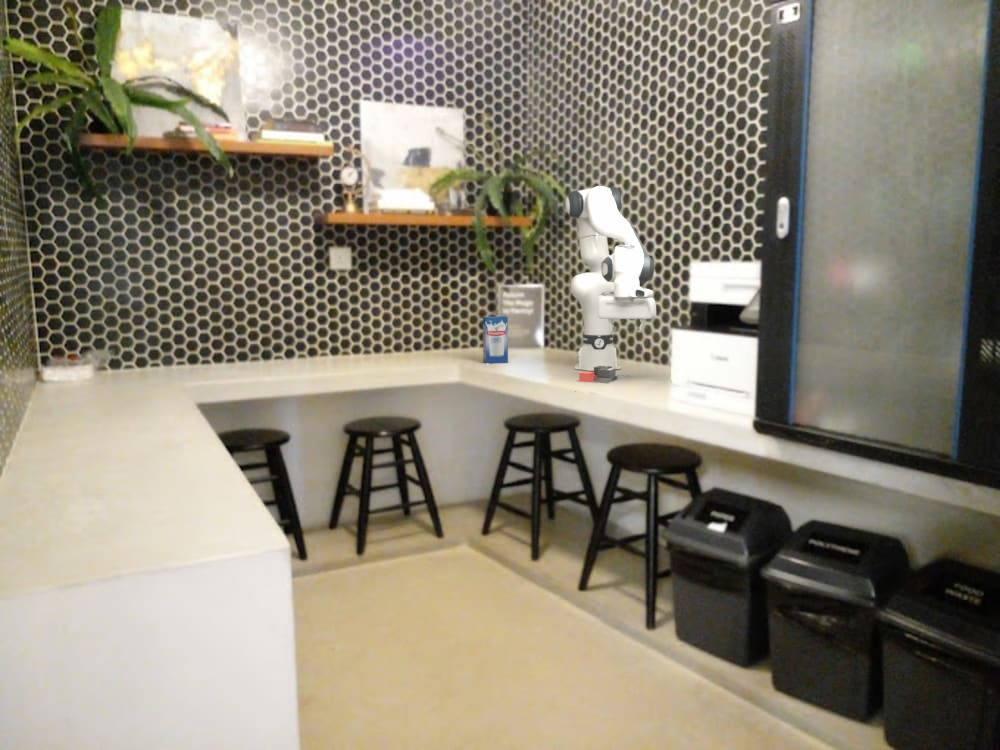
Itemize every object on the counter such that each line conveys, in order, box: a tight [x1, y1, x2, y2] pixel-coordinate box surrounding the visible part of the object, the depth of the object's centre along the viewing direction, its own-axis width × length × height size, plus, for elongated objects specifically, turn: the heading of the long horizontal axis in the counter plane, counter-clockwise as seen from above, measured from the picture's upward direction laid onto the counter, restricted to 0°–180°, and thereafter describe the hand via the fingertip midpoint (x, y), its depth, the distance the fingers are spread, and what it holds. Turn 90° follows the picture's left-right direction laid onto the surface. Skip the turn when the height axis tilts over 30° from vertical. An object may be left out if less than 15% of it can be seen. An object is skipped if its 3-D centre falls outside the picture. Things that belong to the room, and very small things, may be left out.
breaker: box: [597, 368, 616, 380], centre depth 266 cm, size 5×5×4 cm
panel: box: [576, 366, 629, 384], centre depth 270 cm, size 22×12×5 cm, turn 151°
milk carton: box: [482, 315, 509, 364], centre depth 329 cm, size 10×6×20 cm, turn 101°
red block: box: [578, 371, 594, 383], centre depth 263 cm, size 4×4×3 cm
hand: (626, 332), depth 260 cm, fingers open, 8 cm apart
